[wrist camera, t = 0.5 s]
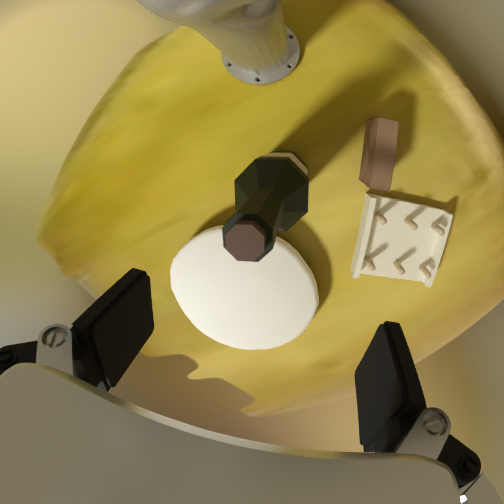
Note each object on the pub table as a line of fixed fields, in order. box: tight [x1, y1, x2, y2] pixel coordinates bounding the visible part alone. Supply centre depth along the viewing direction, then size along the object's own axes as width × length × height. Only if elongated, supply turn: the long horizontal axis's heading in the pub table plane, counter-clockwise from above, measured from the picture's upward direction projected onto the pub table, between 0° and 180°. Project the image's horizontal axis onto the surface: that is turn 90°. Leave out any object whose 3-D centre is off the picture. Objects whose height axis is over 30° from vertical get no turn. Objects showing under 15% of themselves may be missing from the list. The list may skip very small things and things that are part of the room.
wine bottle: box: [222, 151, 309, 262], centre depth 30 cm, size 8×8×30 cm
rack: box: [350, 193, 453, 287], centre depth 41 cm, size 14×16×5 cm
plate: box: [170, 225, 319, 350], centre depth 51 cm, size 28×6×27 cm
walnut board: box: [359, 117, 399, 192], centre depth 35 cm, size 10×3×8 cm, turn 176°
